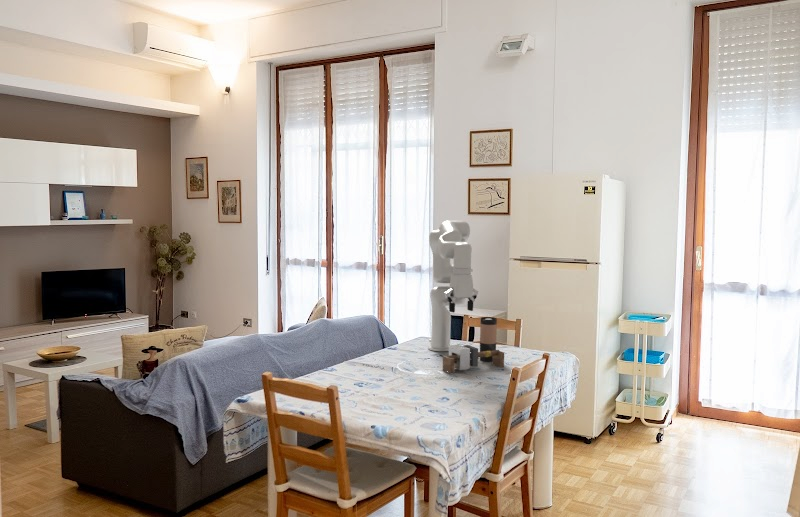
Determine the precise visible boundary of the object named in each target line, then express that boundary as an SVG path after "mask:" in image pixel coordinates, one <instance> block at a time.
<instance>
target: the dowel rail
mask: <svg viewBox="0 0 800 517" xmlns="http://www.w3.org/2000/svg"><path fill="white" fill-rule="evenodd" d="M490 356H493V358H492V362H491V365H493V366H496V367H498V366H499V368H504V367H505V352H503V351H501V350H499V349H496V350H493V351H483V352H480V351H478V359H480V357H490ZM470 359H471V352H470ZM455 360H457V355H450V356H449V355H443V356H442V371H443V372H445V371H448V372H449V373H453V374H455V368H454V361H455ZM449 373H448V374H449Z"/></svg>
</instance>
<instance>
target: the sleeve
mask: <svg viewBox="0 0 800 517" xmlns="http://www.w3.org/2000/svg"><path fill="white" fill-rule="evenodd" d="M470 353H471V352H470V348H467V347H464V346H463V345H461V344H450V346H449V351H448V356H450V355H457V360H455V361H454V369H456V370H459V371H464V370H470V367H471V366H470Z"/></svg>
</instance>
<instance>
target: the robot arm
mask: <svg viewBox="0 0 800 517" xmlns="http://www.w3.org/2000/svg"><path fill="white" fill-rule="evenodd" d="M470 234H471V227H470V224H469V223H468V221H465V220H445V221H443V222H441V223H440V225H439V228H438V229H436V230H435V229H434V230H432V231H431V232H430V233H429V240H428V241H429V246H430V248H431V249H430V250H431V252H432V258H433V259H432V260H433V261H432V263H433V264H432V266H433V267H432V270H433V272H432V273H433V277H432V278H433V280H434V282H435V283H436V284H440V285H441V284H443V285H445V284H448V285H449V286H446V285H445V286H442V285H441V286H435V287H433V288H432V289H431V290H430V303H431V332H430V333H431V338H430V339H428V342H429V343H430V344H429V345H428V346H427V349H428V350H430V351H433V352H449V346H450V345H451V324H452V323H451V321H452V316H451V313H455V312H456V306H463V305H464V304H465V302H466V299H467V305H466V306H467V311H471V312H473V311H474V302H475V300H476V299H477V297H478V294H479V290H477V289H475V288H474V281H473V276H472V274H471V273H472V272H473V268H472V246H471V245H472V244H470V243H469V242H467V241H468V239H469V238H470ZM451 259H452V260H453V264H452V263H451ZM447 306H448V308H447Z"/></svg>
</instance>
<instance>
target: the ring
mask: <svg viewBox="0 0 800 517" xmlns="http://www.w3.org/2000/svg"><path fill="white" fill-rule="evenodd" d="M462 346H464V347H467V348H470V353H471V359H470V367H471V368H477V367H478V366H479V358H478V352H479V348H478V347H475V346H472V345H470V344H464V345H462Z"/></svg>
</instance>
